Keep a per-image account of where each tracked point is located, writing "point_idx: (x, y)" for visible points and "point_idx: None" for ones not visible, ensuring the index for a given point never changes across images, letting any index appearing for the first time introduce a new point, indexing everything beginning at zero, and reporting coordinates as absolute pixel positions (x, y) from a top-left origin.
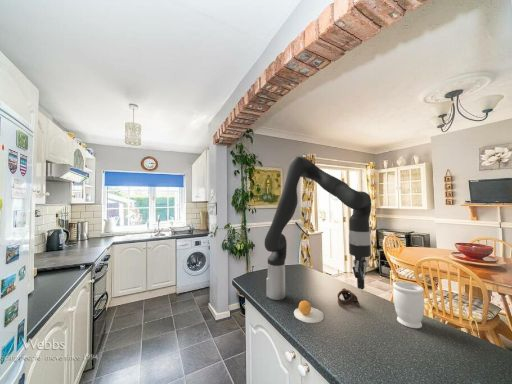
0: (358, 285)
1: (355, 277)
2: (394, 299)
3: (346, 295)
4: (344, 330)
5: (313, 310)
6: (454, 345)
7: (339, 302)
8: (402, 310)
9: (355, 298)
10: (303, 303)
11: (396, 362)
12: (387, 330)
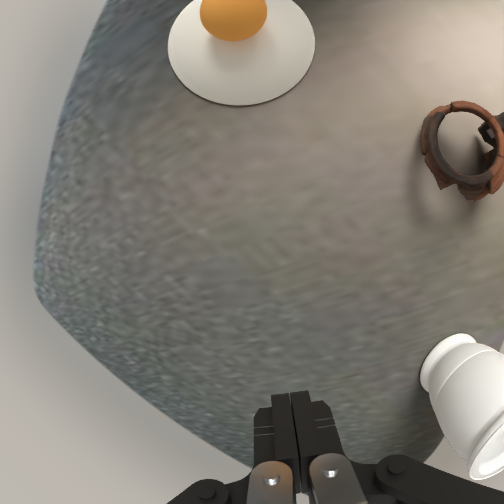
0: (255, 424)
1: (190, 488)
2: (479, 378)
3: (493, 136)
4: (241, 214)
5: (290, 38)
6: (386, 449)
7: (428, 119)
8: (442, 391)
9: (475, 194)
10: (212, 2)
11: (200, 389)
12: (363, 336)
